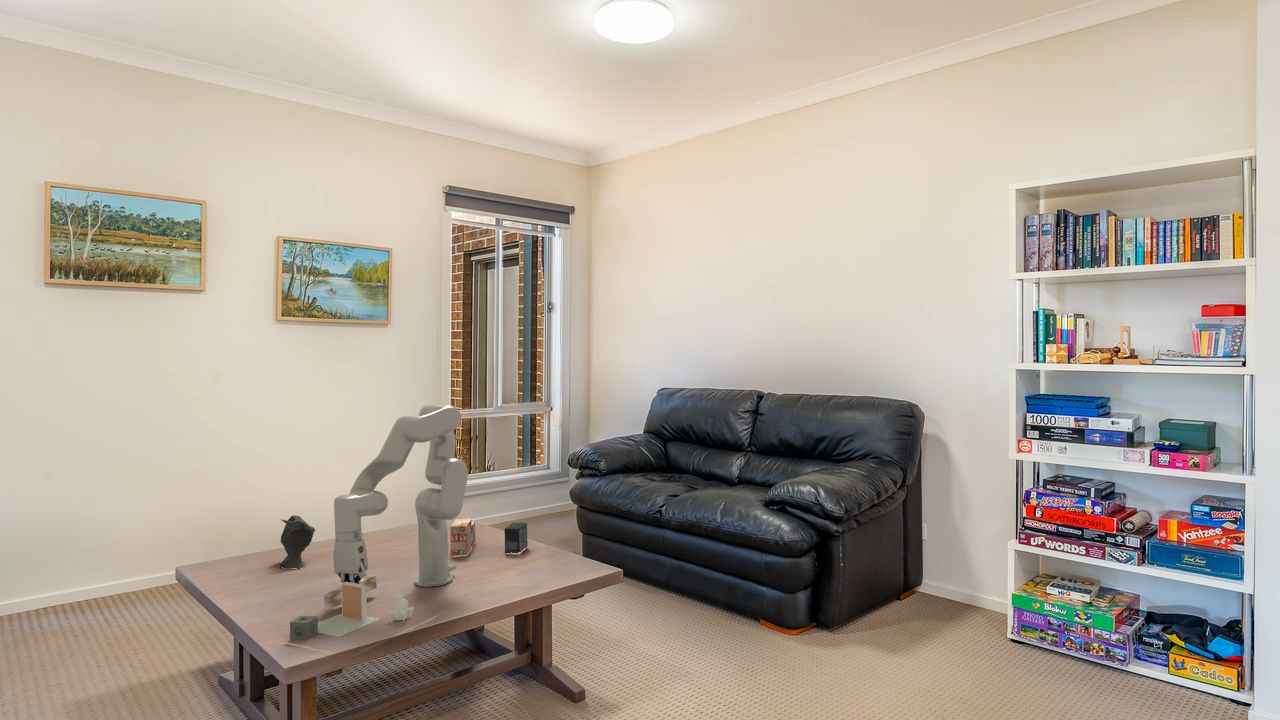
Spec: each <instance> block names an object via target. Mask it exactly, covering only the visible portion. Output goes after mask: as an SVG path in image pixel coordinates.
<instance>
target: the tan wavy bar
mask: <svg viewBox="0 0 1280 720" xmlns="http://www.w3.org/2000/svg"><path fill="white" fill-rule="evenodd" d="M359 584H362V585H366V593H368V592H370V591H373V590H375V589H377V588H378V587H377V585H378V584H377V575H376V574H375V575H374V574H367V575H366V576H364V577H362V578H361V581H360V582H359ZM323 600H324V602H323V603H324V609H329V610H331V609H333V608H336V607H338V606H340V605H342V586H340V587H339V588H336V589H334V590H332V591H329V592H326V593H323Z"/></svg>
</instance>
